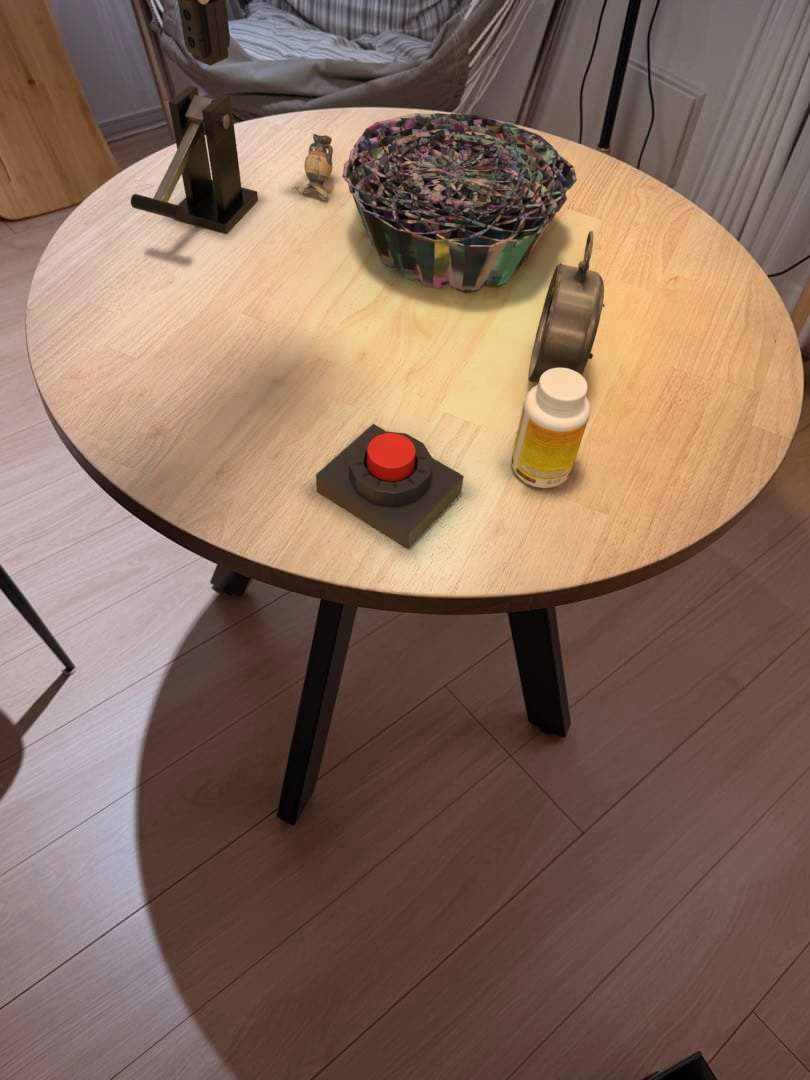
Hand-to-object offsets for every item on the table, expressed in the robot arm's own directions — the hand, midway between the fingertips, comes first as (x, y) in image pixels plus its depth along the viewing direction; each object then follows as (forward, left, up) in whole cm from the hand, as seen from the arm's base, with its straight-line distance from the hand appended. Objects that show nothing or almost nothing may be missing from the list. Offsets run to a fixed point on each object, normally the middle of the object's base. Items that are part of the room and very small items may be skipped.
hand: (210, 58), depth 54 cm
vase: (+31, +18, -29) cm, 46 cm away
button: (-3, -19, -25) cm, 32 cm away
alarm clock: (+19, -23, -29) cm, 42 cm away
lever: (+14, +23, -21) cm, 34 cm away
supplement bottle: (+8, -28, -29) cm, 41 cm away
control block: (-3, -19, -29) cm, 35 cm away
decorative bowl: (+33, -1, -29) cm, 44 cm away
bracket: (+19, +24, -29) cm, 42 cm away
